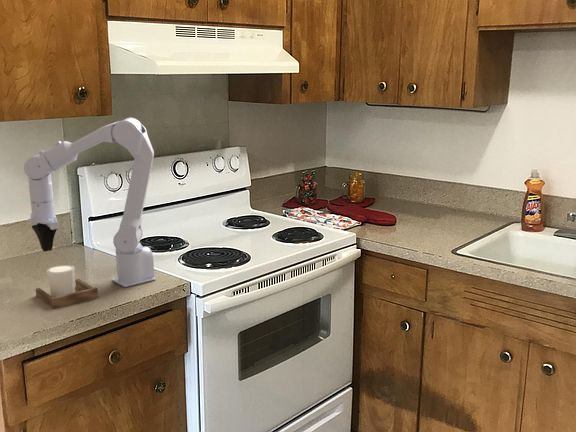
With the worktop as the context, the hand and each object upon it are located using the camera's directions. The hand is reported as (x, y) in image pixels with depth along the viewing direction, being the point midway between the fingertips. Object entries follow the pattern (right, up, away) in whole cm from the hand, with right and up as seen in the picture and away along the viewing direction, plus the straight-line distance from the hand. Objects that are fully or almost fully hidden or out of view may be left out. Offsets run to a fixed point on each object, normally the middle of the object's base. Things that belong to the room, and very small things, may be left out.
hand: (47, 250), depth 168 cm
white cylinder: (+6, -11, -6) cm, 14 cm away
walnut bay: (+7, -11, -7) cm, 15 cm away
